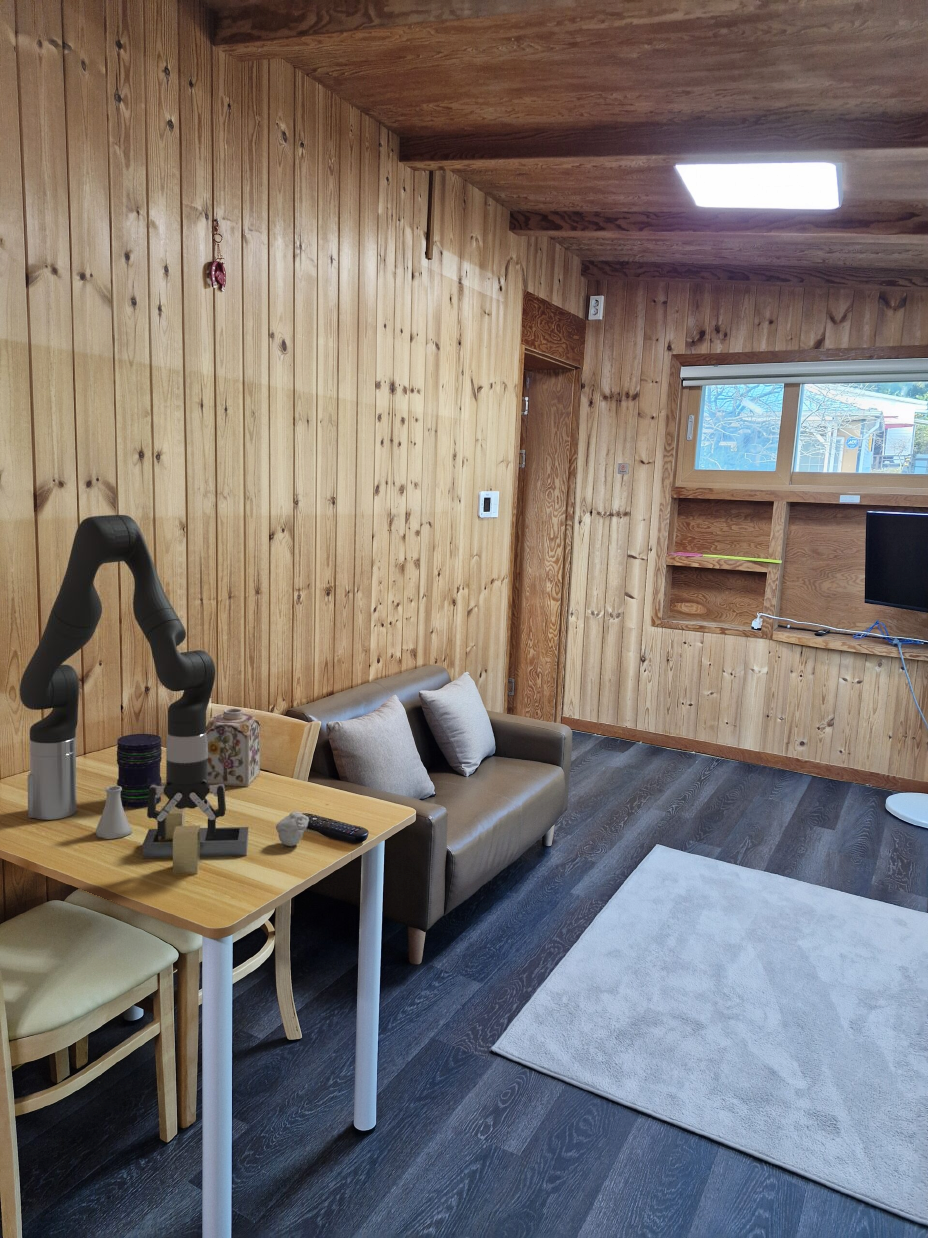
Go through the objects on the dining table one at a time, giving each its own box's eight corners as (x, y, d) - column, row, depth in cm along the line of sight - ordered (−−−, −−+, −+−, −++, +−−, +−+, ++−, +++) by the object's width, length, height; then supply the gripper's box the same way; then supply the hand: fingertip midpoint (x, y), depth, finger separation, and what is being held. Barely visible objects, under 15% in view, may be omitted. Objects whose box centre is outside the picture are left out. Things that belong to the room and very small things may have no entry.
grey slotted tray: (142, 858, 178) (142, 844, 177) (148, 843, 185) (149, 829, 185) (246, 855, 182) (246, 841, 181) (248, 840, 189) (248, 827, 189)
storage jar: (132, 811, 203) (132, 747, 201) (108, 801, 209) (107, 739, 207) (170, 801, 211) (170, 739, 209) (145, 791, 217) (146, 731, 215)
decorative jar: (216, 770, 235) (217, 703, 233) (260, 773, 235) (262, 706, 232) (201, 785, 223) (202, 714, 221) (248, 788, 223) (249, 717, 221)
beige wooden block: (172, 875, 171) (172, 834, 170) (175, 865, 175) (175, 826, 174) (197, 874, 172) (197, 834, 171) (199, 864, 176) (199, 825, 175)
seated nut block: (158, 852, 180) (158, 813, 179) (161, 843, 184) (161, 806, 183) (181, 851, 181) (182, 813, 180) (184, 843, 185) (184, 805, 184)
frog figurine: (312, 847, 187) (313, 815, 186) (280, 853, 184) (280, 820, 183) (302, 837, 192) (303, 806, 192) (270, 842, 189) (271, 810, 188)
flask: (120, 824, 195) (120, 780, 194) (138, 833, 190) (138, 788, 189) (88, 833, 189) (88, 787, 188) (106, 842, 185) (106, 796, 183)
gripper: (144, 761, 165) (145, 846, 168) (224, 760, 168) (223, 843, 170) (150, 750, 173) (151, 831, 175) (227, 749, 175) (226, 829, 178)
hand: (187, 837), depth 173 cm, fingers open, 8 cm apart
